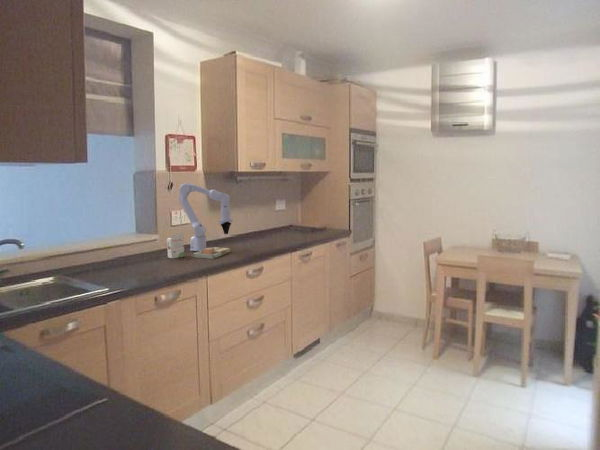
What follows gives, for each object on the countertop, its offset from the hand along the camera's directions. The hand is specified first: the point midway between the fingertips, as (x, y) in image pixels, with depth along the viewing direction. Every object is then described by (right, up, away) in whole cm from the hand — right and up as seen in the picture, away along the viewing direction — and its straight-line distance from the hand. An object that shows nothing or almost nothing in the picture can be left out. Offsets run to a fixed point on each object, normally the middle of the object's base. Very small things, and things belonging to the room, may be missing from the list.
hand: (226, 233), depth 287 cm
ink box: (-26, -14, -22) cm, 37 cm away
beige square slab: (-4, -12, -11) cm, 17 cm away
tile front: (-8, -13, -21) cm, 26 cm away
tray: (-8, -13, -21) cm, 26 cm away
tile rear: (-7, -10, -20) cm, 23 cm away
